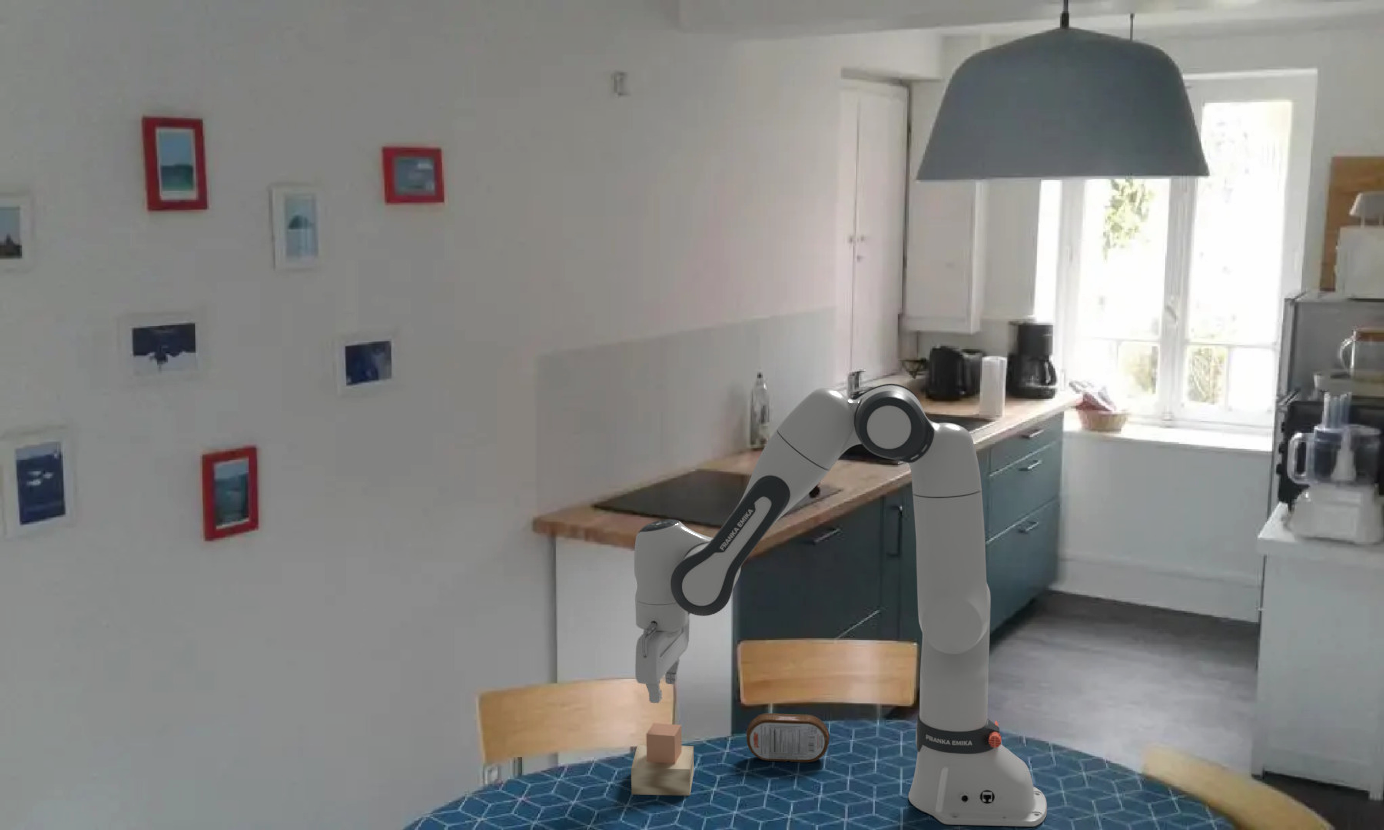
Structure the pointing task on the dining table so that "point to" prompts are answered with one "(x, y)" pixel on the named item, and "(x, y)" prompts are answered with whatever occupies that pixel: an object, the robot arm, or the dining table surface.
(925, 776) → the robot arm
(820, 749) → the tin
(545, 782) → the dining table surface
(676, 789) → the base block
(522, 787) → the dining table surface
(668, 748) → the cube
